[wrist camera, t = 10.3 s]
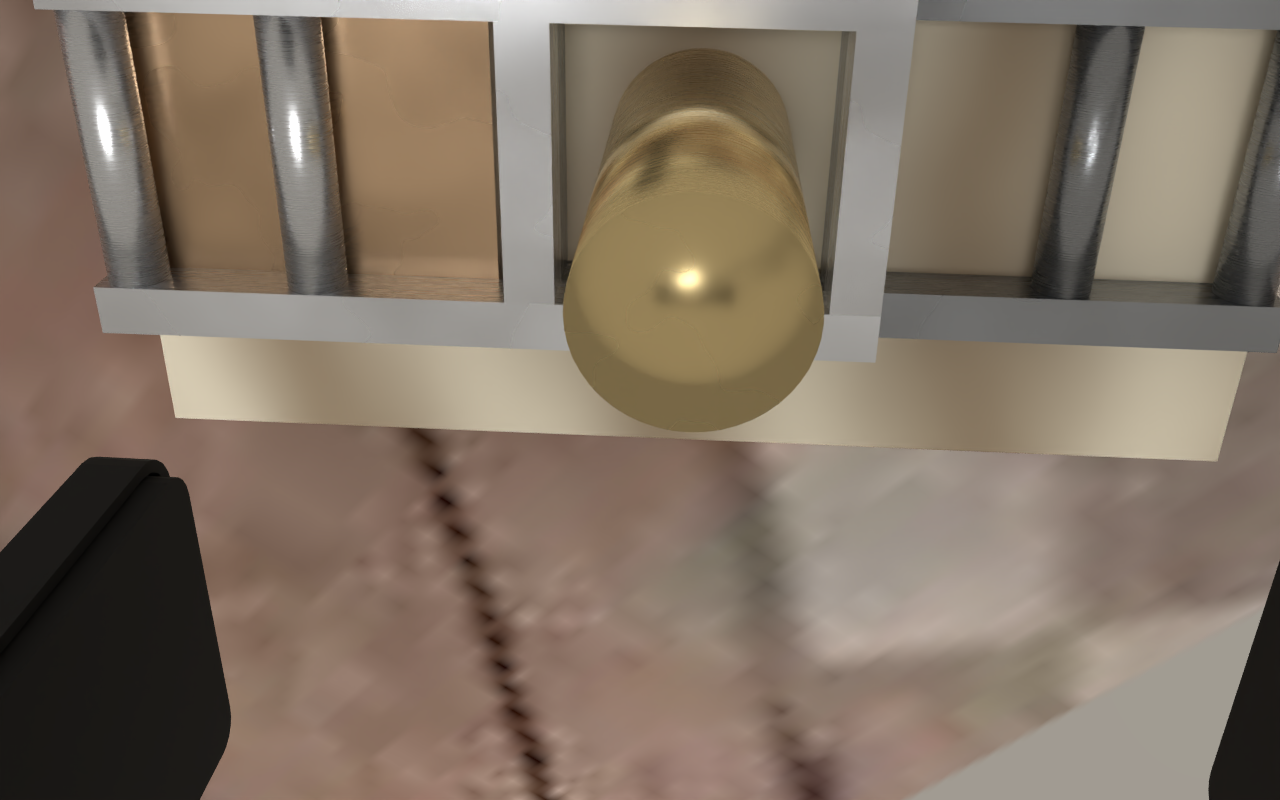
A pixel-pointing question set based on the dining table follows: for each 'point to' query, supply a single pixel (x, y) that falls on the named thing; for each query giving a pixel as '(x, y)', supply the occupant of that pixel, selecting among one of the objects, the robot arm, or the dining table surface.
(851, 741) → the dining table surface
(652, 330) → the brass pin
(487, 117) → the grey flat barred piece
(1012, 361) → the birch board
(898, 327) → the grey frame
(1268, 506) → the dining table surface
